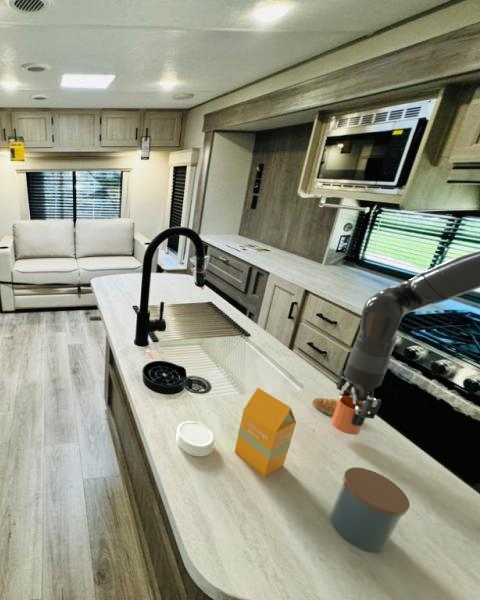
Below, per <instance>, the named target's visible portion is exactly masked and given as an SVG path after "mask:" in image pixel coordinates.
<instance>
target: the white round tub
mask: <svg viewBox="0 0 480 600" xmlns="http://www.w3.org/2000/svg"><path fill="white" fill-rule="evenodd" d="M175 439H176V444H177V445H178V447H179V448H180V449H181V450H182V451H183V452H185V453H187V454H188V455H189V456H190V455H191V456H194V457H207V456H209V455H211V453H212V452H213V451H214V447H215V442H216V439H215V434H214V433H213V431H212V430H211V429H210V428H209V427H207V426H206V425H205V424H204V423H200V422H197V421H192V420H191V421H189V420H188V421H184V422H182V423H180V424H179V425H178V426H177V428H176V434H175Z"/></svg>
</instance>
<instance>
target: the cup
mask: <svg viewBox="0 0 480 600" xmlns="http://www.w3.org/2000/svg"><path fill="white" fill-rule="evenodd" d="M337 400H338V401H337V404H336V407H335V410H334V413H333V416H331V420H330V422H331V425H332V426H333V427H334V428H335V429H337V430H338V431H340V432H342V433H345V434H347V435H352V436H355V435H359V434H360V433H361V431H362V429H363V426H364V424H365V422H366V419H367V418H365V420H364V423H363V425H362V426H355V425H353V424H352V423H351V421H352V418H353V415H354V413H355V405H354V404H353V397H352V396H340V395H339V396H338V399H337ZM358 402H360V403H365V402H364V401H360V400H358ZM362 408H363V406H360V410H362Z"/></svg>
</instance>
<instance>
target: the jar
mask: <svg viewBox="0 0 480 600" xmlns="http://www.w3.org/2000/svg"><path fill="white" fill-rule="evenodd" d="M410 505H411V504H410V500H409V498H408V496H407V495H406V493H405V492H404V491H403V490H402V489H401V487H399V486H398V485H397V484H396V483H395V482H393V481H392V480H391V479H389V478H388V477H386V476H384V475H382V474H380V473H378V472H376V471H373V470H371V469H368V468H364V467H358V466H357V467H349V468H348V469H346V470H345V471H344V473H343V476H342V484H341V487H340V490H339V492H338V494H337V496H336V498H335V502H334V504H333V505H332V508H331V511H330V513H329V514H330V515H329V517H330V522H331V524H332V526H333V528H334V529H335V531H336V532H337V533H338V534H339V535H340V536H341V537H342V539H344V540H345V541H346V542H348V543H349V544H351V545H352V546H354V547H356V548H358V549H360V550H362V551H364V552H368V553H374V554H375V553H380V552H383V551H384V550H385V548H386V546H387V545H388V543H389V541H390V539H391V537H392V536H393V534H394V531H395V529H396V528H397V526H398V524H399V522H400V520H401V518H402V517H403V516H405V515H406V514H407V512H408V511H409V509H410Z"/></svg>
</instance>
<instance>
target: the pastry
mask: <svg viewBox="0 0 480 600" xmlns="http://www.w3.org/2000/svg"><path fill="white" fill-rule="evenodd" d="M337 401H338V399H335V398H324V397H316V398H315V399H313V400H312V406H314V408H316V409H317V410H318V411H320V412H323V413H324V414H326V415H328V416H331V417H332V416H333V413H334V410H335V407H336V404H337Z"/></svg>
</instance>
